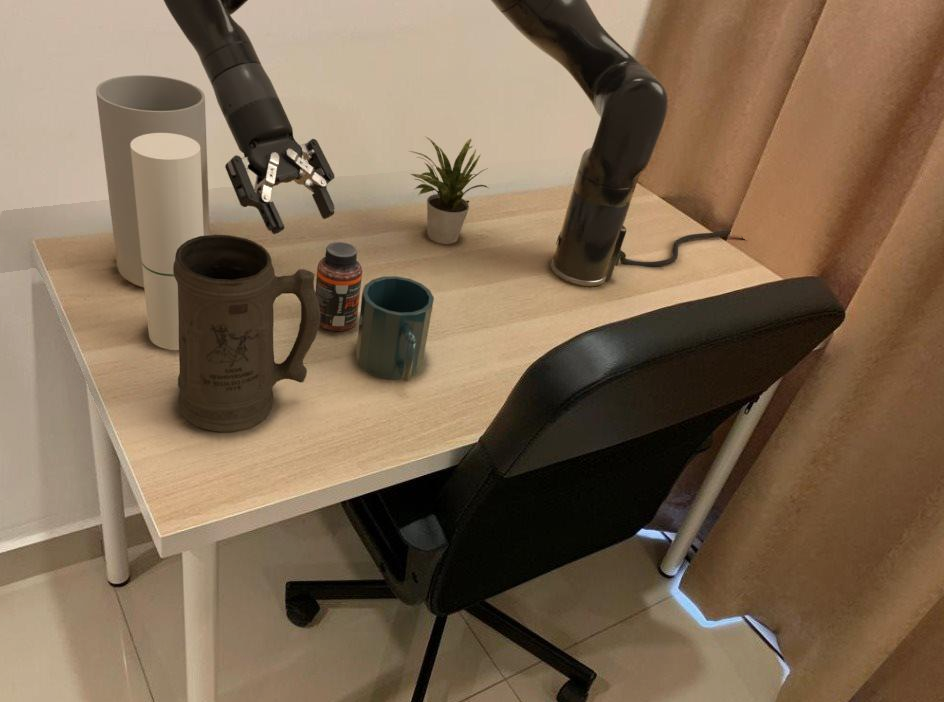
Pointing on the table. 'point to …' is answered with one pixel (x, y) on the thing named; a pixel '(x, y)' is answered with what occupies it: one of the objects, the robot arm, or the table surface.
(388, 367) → the mug
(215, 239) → the beer stein
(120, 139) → the cylinder vase
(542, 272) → the table surface
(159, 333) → the cylindrical container
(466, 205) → the house plant
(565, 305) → the table surface
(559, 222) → the table surface
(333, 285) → the supplement bottle
